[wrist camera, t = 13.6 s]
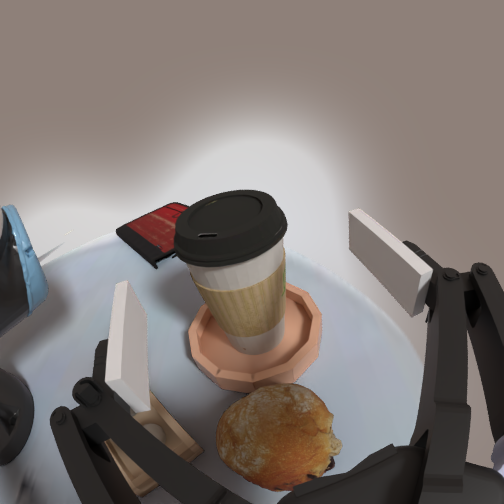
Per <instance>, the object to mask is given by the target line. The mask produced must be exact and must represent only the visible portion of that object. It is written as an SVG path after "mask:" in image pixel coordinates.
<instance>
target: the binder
mask: <svg viewBox="0 0 504 504" xmlns="http://www.w3.org/2000/svg"><path fill="white" fill-rule="evenodd" d="M188 207H189V206H187V205H184V204H181V203H178V202H173V203H170V204H167V205H165V206H163V207H161V208H159V209H156V210H154V211H152V212H150V213H148V214H145V215H143V216H141V217H139V218H137V219H135V220H133V221H131V222H129V223H127V224H124V225H123V226H121V227H119V228H117V229H116V233H117V235H118V236H119V237H120V238H121V239H122V240H123V241H124V242H126V243H127V244H128V245H129V246H130V247H131V248H132V249H134V250H135V251H136V252H137V253H138V254H140V255H141V256H142V257H143V258H144V259H145V260H146V261H148V262H149V263H150V264H151V265H152V266H154V268H155V269H158V266H157V265H156V263H155V262H156V261H158V262H159V260H160V259H162V258H168V257H170V256H171V255H172V254H174V253H175V251H174V235H175V223H176V220H177V218H178V217H179V216H180V214H181V213H182V212H183V211H184V210H185V209H187V208H188ZM176 256H177V255H176V254H175V255H174V256H173V257H172V258H174V257H176Z"/></svg>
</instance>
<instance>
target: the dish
mask: <svg viewBox="0 0 504 504" xmlns="http://www.w3.org/2000/svg"><path fill="white" fill-rule="evenodd" d="M188 333H189V339H190V346H191V353H192V357H193V359H194V361H195V362H196V364H197V366H198V368H199V369H200V370H201V371H202V372H203V373H204V374H205V375H206V376H208V377H209V378H210V379H211V380H212V381H213V382H214V383H215V384H217V385H218V386H219V387H220V388H221V389H225V390H231V391H237V392H243V393H252V392H254V391H256V390H257V389H258V388H260V387H265V386H272V385H277V384H287V383H293V382H295V381H296V380H297V379H298V378H299V377H300V376H301V375H302V374H303V373H304V372H305V371H306V369H307V368H308V367H309V366H310V365H311V364H312V363H313V362H314V361H315V360H316V359H317V357H318V355H319V348H320V342H321V335H322V314H321V312H320V311H319V309H318V307H317V306H316V304H315V303H314V301H313V299H312V298H311V296H310V295H309V293H308V292H306V291H304V290H302V289H300V288H298V287H295V286H293V285H291V284H289V283H287V282H286V309H285V332H284V336H283V339H282V341H281V342H280V343H279V344H278V345H277V346H276V347H275V348H274V349H272V350H271V351H269V352H266V353H263V354H259V355H248V354H243V353H241V352H239V351H237V350H236V349H235V348H234V347H233V346H232V344H231V343H230V341H229V339H228V337H227V336H226V334H225V332H224V331H223V330H222V329H221V328H220V327H219V325H218V323H217V322H216V320H215V318H214V316H213V315H212V313H211V311H210V310H209V308H208V306H207V304H206V303H205V304H204V305H202V306H201V307H200V309H199V311H198V313H197V315H196V317H195V319H194V321H193V322H192V324H191V326H190V328H189V330H188Z"/></svg>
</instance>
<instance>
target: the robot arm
mask: <svg viewBox="0 0 504 504" xmlns="http://www.w3.org/2000/svg"><path fill="white" fill-rule="evenodd" d="M349 249H350V251H351V252H352V253H353V254H354V255H355V256H356V257H357V258H358V259H359V260H360V261H361V262H362V263H363V264H364V266H365V267H366V268H367V269H368V270H369V271H370V272H371V273H372V274H373V275H374V276H375V277H376V278H377V279H378V280H379V282H380V283H381V284H382V285H383V286H384V287H385V288H386V289H387V290H388V292H389V293H390V294H391V295H392V296H393V297H394V298H395V299H396V300H397V302H398V303H399V304H400V305H401V306H402V307H403V308H404V309H405V311H406V312H407V313H408V314H409V315H410V316H411V317H414V316H416V315H418V314H419V313H421V312H423V309H424V305H425V303H426V304H427V306H428V307H429V311H428V314H427V318H426V321H425V322H426V323H427V321H428V328H427V343H426V355H425V356H426V357H425V366H424V375H423V383H422V390H421V397H420V404H419V410H418V415H417V421H416V426H415V430H414V433H413V435H412V438H411V441H410V444H409V446H397V447H394V445H393V444H390V445H388V446H386V447H384V448H382V449H381V450H379V451H377V452H375V453H373V454H371V455H369V456H368V457H367V458H365V459H364V460H363V461H362V462H360V463H359V464H358V465H356V466H355V467H354V468H353V469H351V470H350V471H348V472H346V473H342V474H336V475H330V476H324V477H318V478H315V479H313V480H310V481H307V482H304V483H301V484H299V485H296V486H293V491H291V492H290V493H288V494H287V495H286V496H284V497H283V498H282V499H281V500H280V501H279V502H278V503H277V504H504V292H503V290H502V288H501V286H500V284H499V282H498V280H497V278H496V276H495V274H494V272H493V271H492V269H491V268H490V267H489V266H488V265H486V264H484V263H475V264H473V265H472V268H471V271H470V272H466V273H459V272H458V271H456V270H455V269H452V268H442V267H441V266H440V265H439V264H438V263H436V262H435V261H434V260H433V259H432V258H431V257H429V256H428V255H426V253H425V252H424V251H421V249H420V248H419V247H418V246H416V245H415V244H413V243H411V242H409V241H404V242H401V241H400V240H398V239H397V238H396V237H395V236H393V235H392V234H391V233H390V232H389V231H387V230H386V229H385V228H384V227H382V226H381V225H380V224H379V223H377V222H376V221H375V220H374V219H372V218H371V217H370V216H368V215H367V214H366V213H365V212H363V211H362V210H361V209H355V210H352V211H349ZM47 295H48V284H47V280H46V278H45V275H44V273H43V270H42V268H41V265H40V263H39V261H38V258H37V256H36V254H35V252H34V250H33V248H32V245H31V243H30V240H29V237H28V235H27V232H26V230H25V228H24V225H23V223H22V221H21V218H20V216H19V214H18V212H17V210H16V208H15V207H14V206H13V205H8V206H3V207H2V208H1V207H0V337H1V336H3V335H4V334H5V333H6V332H8V331H9V330H10V329H11V328H13V327H14V326H15V325H17V324H18V323H19V322H21V321H22V320H23V319H24V318H26V317H28V316H30V315H31V314H32V312H33V310H34V309H35V308H37V307H38V306H39V305H40V304H41V303H42V302H44V301H45V299H46V298H47ZM467 330H468V333H469V337H470V340H471V343H472V346H473V350H474V354H475V357H476V361H477V365H478V369H479V373H480V376H481V381H482V385H483V390H484V395H485V399H486V404H487V410H488V415H489V421H490V426H491V431H492V435H493V438H494V441H495V445H494V449H493V453H492V455H491V460H492V462H493V463H494V467H493V469H491V468H487V467H483V466H479V465H476V464H472V463H469V462H465V461H466V454H467V447H468V439H469V430H470V420H471V407H470V406H469V405H467V379H468V350H467ZM72 396H73V398H74V400H75V401H76V402H77V403H78V404H80V406H78V407H76V408H74V409H72V410H69V409H68V408H67V407H65V406H60V407H58V408H56V409H55V410H54V411H53V412H52V414H51V417H50V425H51V429H52V432H53V435H54V438H55V441H56V443H57V446H58V449H59V452H60V454H61V457H62V460H63V462H64V465H65V467H66V470H67V472H68V474H69V477H70V479H71V481H72V483H73V486H74V488H75V490H76V492H77V494H78V496H79V499H80V501H81V503H82V504H141V502H140V501H139V499H138V498H137V496H136V495H135V493H134V492H133V490H132V489H131V487H130V486H129V484H128V482H127V481H126V479H125V477H124V476H123V474H122V472H121V471H120V469H119V467H118V466H117V464H116V462H115V460H114V458H113V457H112V455H111V453H110V451H109V449H108V447H107V446H106V444H105V442H104V441H106V440H108V439H110V438H111V439H112V440H113V441H114V442H115V444H116V445H117V446H118V447H119V448H120V449H121V450H122V451H123V452H124V453H125V454H126V455H127V456H128V457H129V458H130V459H131V460H132V461H134V462H135V463H136V464H137V465H138V466H139V467H140V468H141V469H142V470H143V471H144V472H145V473H146V474H148V475H149V476H150V477H151V478H152V479H153V480H154V481H155V482H157V483H158V484H159V485H160V486H161V487H163V488H164V489H165V490H166V491H167V492H169V493H170V494H171V495H172V496H174V497H175V498H176V499H177V500H179V501H180V502H181V503H182V504H252V503H250V502H248V501H246V500H245V499H243V498H241V497H240V496H238V495H236V494H235V493H233V492H231V491H230V490H228V489H226V488H225V487H223V486H222V485H220V484H219V483H217V482H215V481H214V480H212V479H211V478H209V477H208V476H207V475H205V474H204V473H202V472H201V471H199V470H198V469H196V468H195V467H194V466H192V465H191V464H189V463H188V462H187V461H185V460H184V459H183V458H181V457H180V456H179V455H177V454H176V453H175V452H174V451H172V450H171V449H170V448H168V447H167V446H166V445H165V444H163V443H162V442H161V441H160V440H159V439H157V438H156V437H155V436H154V435H153V434H151V433H150V432H149V431H148V430H147V429H146V428H144V427H143V426H142V425H141V424H140V423H139V422H138V421H136V420H135V419H134V418H133V417H132V416H131V414H130V408H131V409H132V410H133V411H134V412H135V413H139V412H144V411H149V410H151V409H150V396H149V378H148V352H147V314H146V312H145V310H144V309H143V307H142V305H141V303H140V301H139V300H138V298H137V296H136V294H135V292H134V290H133V288H132V287H131V285H130V283H129V281H128V280H126V281H123V282H120V283H117V284H116V287H115V293H114V300H113V307H112V314H111V322H110V330H109V339H106V340H102V341H100V342H99V344H98V346H97V348H96V350H95V360H94V367H93V376H92V378H91V377H85V378H82V379H81V380H79V381H78V382H77V383H76V384H75V386H74V388H73V391H72ZM33 415H34V405H33V399H32V396H31V393H30V391H29V390H28V388H27V387H26V386H25V385H24V384H23V383H22V382H21V381H20V380H19V379H18V378H17V377H15V376H14V375H12V374H11V373H8V372H6V371H5V370H3V369H1V368H0V466H2V465H5V464H7V463H8V462H10V461H11V460H13V459H14V458H15V457H16V456H17V455H18V454H19V452H20V451H21V450H22V448H23V446H24V445H25V443H26V441H27V439H28V436H29V434H30V431H31V427H32V422H33Z"/></svg>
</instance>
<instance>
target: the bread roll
mask: <svg viewBox="0 0 504 504" xmlns="http://www.w3.org/2000/svg"><path fill="white" fill-rule="evenodd" d="M333 416H334V415H333V414H332V413H330V412H329V411H328V409H327V407H326V405H325V403H324V402H323V401H322V400H321V399H320V398H319V397H318V396H317V395H316V394H315V393H314V392H313V391H311V390H310V389H308V388H306V387H304V386H301V385H298V384H292V383H287V384H277V385H272V386H265V387H260V388H258V389H257V390H256V391H254V392H252V393H250V394H249V395H247V396H246V397H243V398H241V399H240V400H238V401H236V402H235V403H233V404H232V405H231V406H230V407H229V408H228V409H227V410H226V411H225V412H224V413H223V415H222V417H221V418H220V420H219V423H218V426H217V430H216V446H217V449H218V453H219V456H220V458H221V459H222V460H223V461H224V463H225V464H226V465H227V466H228V467H229V468H231V469H232V470H233V471H234V472H236V473H237V474H239V475H241V476H243V478H245V479H246V480H247V481H249V482H252V483H253V484H256V485H259V486H261V487H262V488H266V489H269V490H271V491H275V492H279V491H293V486H296V485H299V484H301V483H304V482H307V481H310V480H313V479H315V478H318V477H321V476H322V475H323V473H326V471H329V470H331V469H332V468H334V467H335V465H334V464H335V462H334V459H333V457H332V456H335V455H338V454H339V453H340V450H341V448H342V443H341V440H339V439H337V438H335V435H334V434H333V430H332V421H333Z"/></svg>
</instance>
